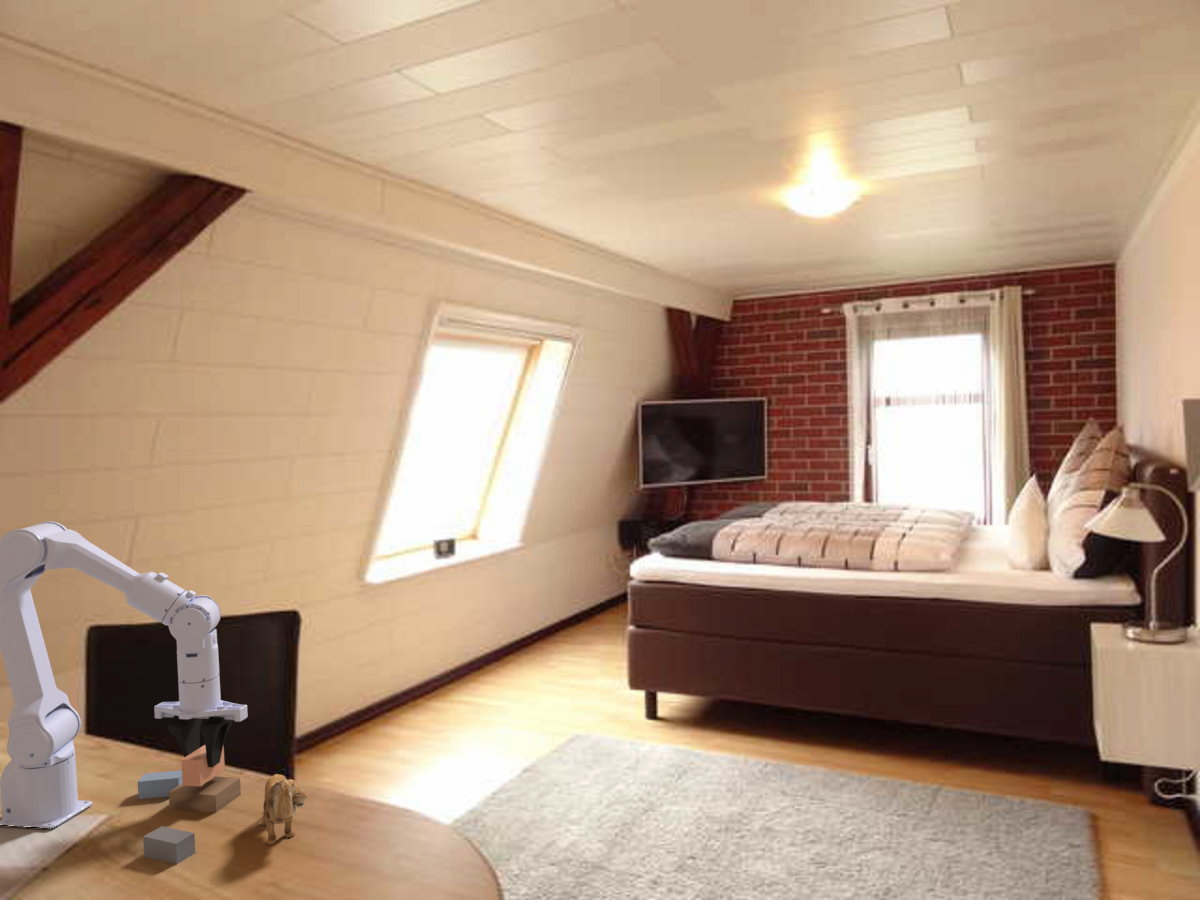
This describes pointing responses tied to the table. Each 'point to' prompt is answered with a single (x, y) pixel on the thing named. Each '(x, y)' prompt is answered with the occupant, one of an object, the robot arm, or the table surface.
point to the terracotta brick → (199, 768)
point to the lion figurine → (281, 805)
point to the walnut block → (205, 795)
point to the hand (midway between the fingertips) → (203, 764)
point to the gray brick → (169, 844)
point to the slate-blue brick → (158, 784)
